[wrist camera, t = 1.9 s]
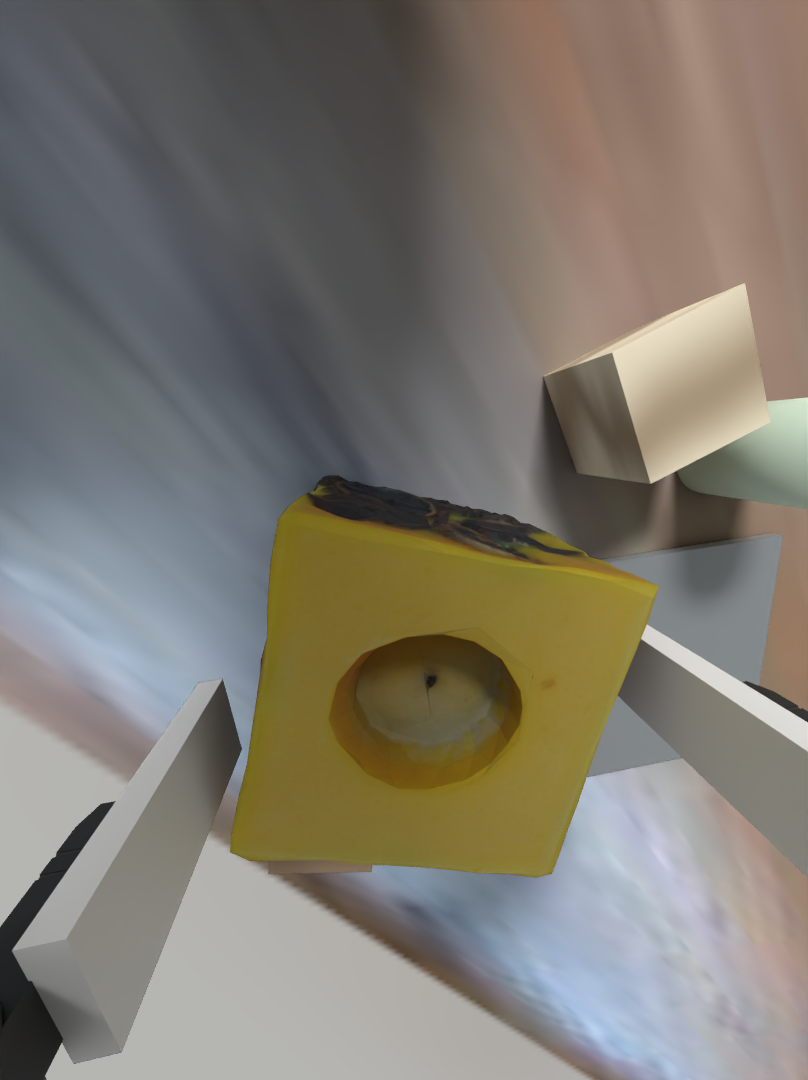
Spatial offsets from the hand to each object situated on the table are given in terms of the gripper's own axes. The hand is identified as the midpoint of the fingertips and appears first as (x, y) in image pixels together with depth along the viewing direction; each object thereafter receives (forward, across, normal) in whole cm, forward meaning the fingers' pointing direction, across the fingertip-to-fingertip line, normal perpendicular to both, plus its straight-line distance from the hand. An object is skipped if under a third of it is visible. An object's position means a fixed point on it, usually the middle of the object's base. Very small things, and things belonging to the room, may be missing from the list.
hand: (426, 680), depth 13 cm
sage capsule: (+7, +17, +6) cm, 19 cm away
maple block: (+7, +11, +9) cm, 16 cm away
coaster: (+7, +14, -6) cm, 17 cm away
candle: (+7, 0, +1) cm, 7 cm away
